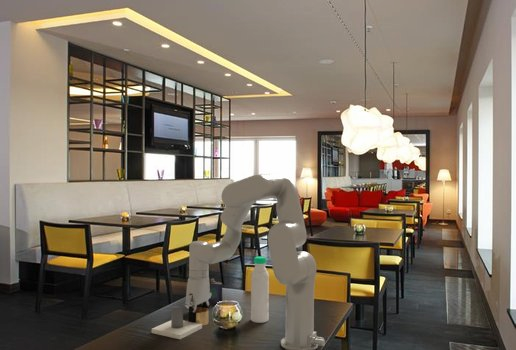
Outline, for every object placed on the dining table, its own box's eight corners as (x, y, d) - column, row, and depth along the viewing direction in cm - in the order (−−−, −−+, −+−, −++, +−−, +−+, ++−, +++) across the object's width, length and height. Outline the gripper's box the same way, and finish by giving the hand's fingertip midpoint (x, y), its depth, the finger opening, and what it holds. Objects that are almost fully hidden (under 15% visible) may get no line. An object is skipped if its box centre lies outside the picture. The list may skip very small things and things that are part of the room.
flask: (201, 302, 204) (201, 278, 204) (203, 301, 207) (204, 277, 207) (221, 304, 202) (221, 280, 202) (223, 302, 205) (223, 278, 205)
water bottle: (266, 324, 176) (267, 259, 176) (249, 322, 178) (249, 258, 178) (270, 318, 183) (270, 255, 183) (252, 317, 185) (253, 255, 184)
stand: (202, 328, 171) (202, 305, 171) (180, 339, 160) (180, 315, 160) (174, 322, 178) (174, 300, 177) (151, 332, 166) (151, 309, 166)
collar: (212, 321, 179) (212, 308, 179) (201, 327, 172) (201, 314, 172) (196, 318, 182) (196, 306, 182) (185, 324, 176) (185, 311, 176)
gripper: (203, 268, 187) (203, 311, 187) (177, 276, 171) (176, 324, 171) (219, 270, 183) (218, 314, 183) (193, 279, 168) (193, 327, 168)
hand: (198, 318), depth 177 cm, fingers closed on collar, 7 cm apart
